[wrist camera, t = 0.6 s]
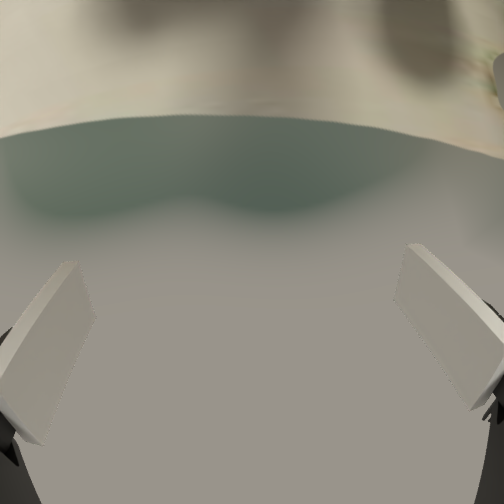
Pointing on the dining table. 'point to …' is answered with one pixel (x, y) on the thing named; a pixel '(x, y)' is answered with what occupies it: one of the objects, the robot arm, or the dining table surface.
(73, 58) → the dining table surface
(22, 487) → the robot arm
